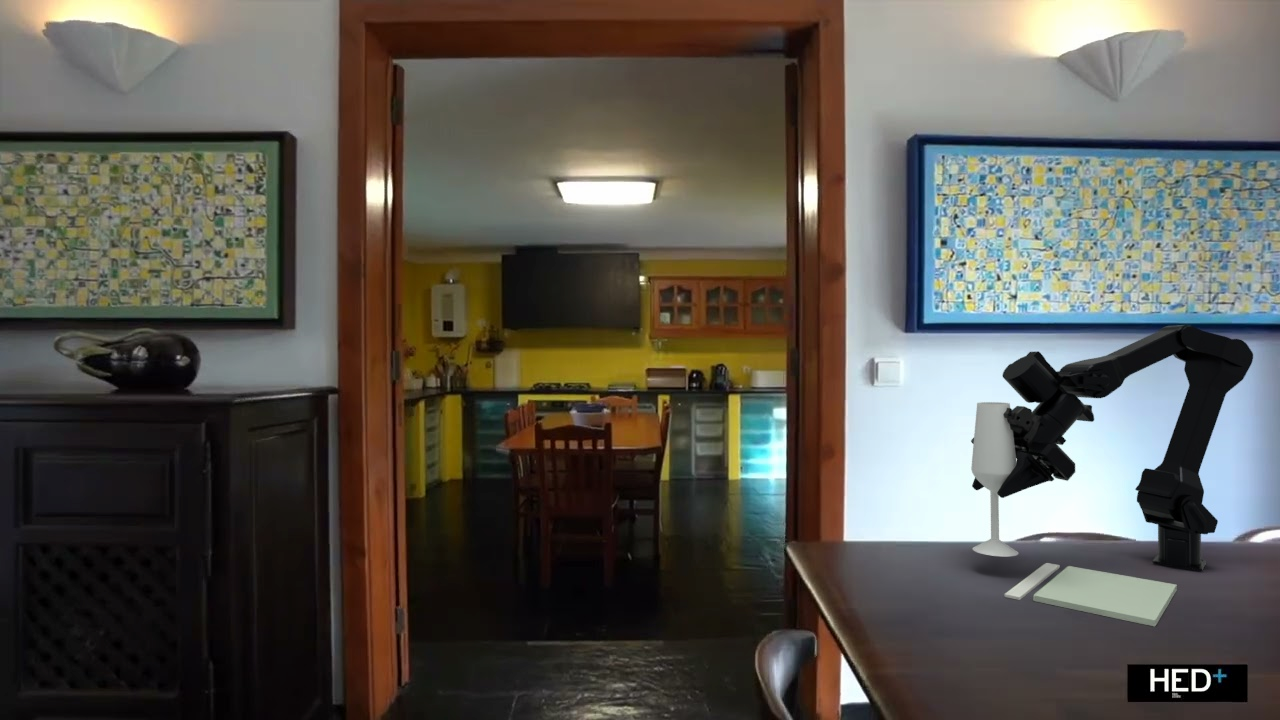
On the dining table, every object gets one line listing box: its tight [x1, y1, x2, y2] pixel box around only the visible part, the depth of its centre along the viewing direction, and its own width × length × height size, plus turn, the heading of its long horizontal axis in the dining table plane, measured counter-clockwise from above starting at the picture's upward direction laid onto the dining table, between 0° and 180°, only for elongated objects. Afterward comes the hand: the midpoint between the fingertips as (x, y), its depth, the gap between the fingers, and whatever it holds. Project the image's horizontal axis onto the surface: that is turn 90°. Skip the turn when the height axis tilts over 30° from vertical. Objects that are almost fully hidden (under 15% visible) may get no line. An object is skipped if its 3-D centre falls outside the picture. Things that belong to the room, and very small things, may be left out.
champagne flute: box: [970, 401, 1019, 558], centre depth 112 cm, size 7×7×24 cm
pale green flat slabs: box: [1003, 562, 1178, 628], centre depth 102 cm, size 22×18×1 cm
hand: (986, 492), depth 112 cm, fingers closed on champagne flute, 6 cm apart
